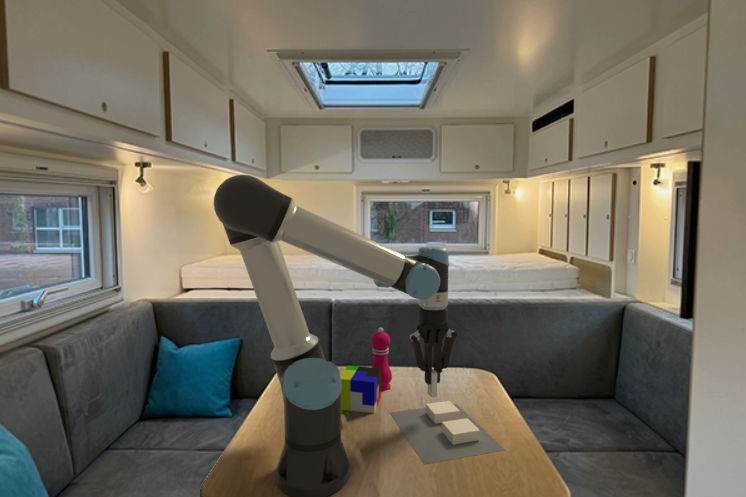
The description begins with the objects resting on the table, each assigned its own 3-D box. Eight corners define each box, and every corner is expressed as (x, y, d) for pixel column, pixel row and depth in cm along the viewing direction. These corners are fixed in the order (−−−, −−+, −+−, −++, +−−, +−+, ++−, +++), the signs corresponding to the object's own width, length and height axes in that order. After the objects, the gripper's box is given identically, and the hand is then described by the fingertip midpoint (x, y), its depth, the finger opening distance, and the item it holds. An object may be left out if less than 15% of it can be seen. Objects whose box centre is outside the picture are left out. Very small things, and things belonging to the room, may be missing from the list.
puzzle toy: (374, 417, 113) (374, 382, 112) (338, 413, 115) (338, 378, 114) (380, 401, 123) (381, 368, 122) (348, 398, 125) (348, 365, 124)
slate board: (505, 454, 96) (505, 450, 96) (424, 469, 90) (424, 464, 90) (456, 407, 119) (456, 403, 119) (389, 416, 113) (389, 412, 113)
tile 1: (434, 424, 107) (459, 420, 109) (435, 414, 107) (459, 410, 109) (425, 413, 113) (449, 410, 115) (425, 403, 112) (449, 400, 114)
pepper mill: (378, 383, 135) (378, 323, 133) (396, 389, 131) (397, 327, 129) (363, 390, 130) (364, 327, 128) (382, 397, 125) (382, 332, 123)
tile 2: (452, 445, 97) (479, 440, 99) (453, 434, 97) (479, 430, 99) (441, 432, 103) (467, 428, 105) (441, 422, 103) (467, 418, 105)
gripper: (414, 311, 102) (414, 404, 104) (463, 308, 105) (461, 398, 108) (404, 305, 109) (404, 392, 111) (449, 302, 113) (448, 386, 115)
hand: (432, 394), depth 109 cm, fingers closed
